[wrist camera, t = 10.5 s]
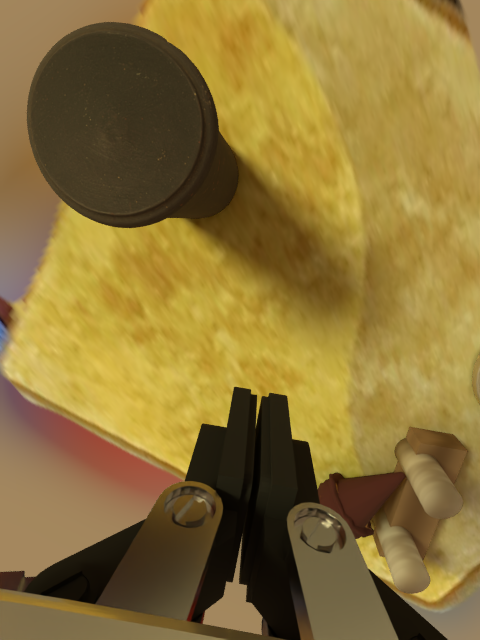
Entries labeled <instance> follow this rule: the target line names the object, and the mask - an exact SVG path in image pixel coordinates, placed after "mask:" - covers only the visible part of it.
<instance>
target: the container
mask: <svg viewBox="0 0 480 640" xmlns="http://www.w3.org/2000/svg"><path fill="white" fill-rule="evenodd" d="M27 126H28V134H29V139H30V144H31V147H32V151H33V154H34V157H35V160H36V162H37V164H38V166H39V168H40V170H41V172H42V174H43V176H44V178H45V179H46V181H47V182H48V184H49V185H50V186H51V188H52V189H53V190H54V191H55V193H56V194H57V195H58V196H59V197H60V198H61V199H62V200H63V201H64V202H65V203H66V204H67V205H69V206H70V207H71V208H72V209H74V210H75V211H77V212H78V213H80V214H81V215H83V216H85V217H87V218H89V219H91V220H93V221H96V222H98V223H101V224H104V225H108V226H113V227H119V228H135V227H142V226H147V225H151V224H154V223H157V222H160V221H162V220H164V219H166V218H191V219H199V218H205V217H209V216H212V215H215V214H217V213H218V212H220V211H221V210H223V209H224V208H225V207H226V206H227V205H228V204H229V203H230V201H231V200H232V198H233V196H234V194H235V191H236V188H237V184H238V167H237V163H236V160H235V157H234V154H233V152H232V150H231V148H230V147H229V145H228V144H227V142H226V141H225V139H224V138H223V136H222V135H221V133H220V132H219V126H218V117H217V112H216V108H215V104H214V101H213V98H212V95H211V93H210V90H209V88H208V86H207V84H206V82H205V80H204V78H203V77H202V75H201V73H200V72H199V70H198V69H197V67H196V66H195V65H194V64H193V63H192V62H191V60H190V59H189V58H188V57H187V56H186V55H185V54H184V53H183V52H182V51H181V50H180V49H178V48H177V47H175V46H174V45H172V44H171V43H169V42H167V40H166V39H165V38H163V37H162V36H160V35H158V34H156V33H154V32H152V31H150V30H148V29H145V28H142V27H139V26H136V25H131V24H126V23H116V22H104V23H97V24H92V25H88V26H85V27H83V28H80V29H77V30H76V31H73V32H71V33H70V34H68V35H66V36H65V37H63V38H62V39H61V40H60V41H58V42H57V43H56V44H55V45H54V46H53V47H52V48H51V50H50V51H49V52H48V53H47V54H46V56H45V57H44V58H43V60H42V61H41V63H40V65H39V66H38V68H37V71H36V73H35V75H34V78H33V81H32V84H31V87H30V92H29V97H28V105H27Z"/></svg>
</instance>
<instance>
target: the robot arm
mask: <svg viewBox="0 0 480 640" xmlns="http://www.w3.org/2000/svg"><path fill="white" fill-rule="evenodd" d="M472 387H473V391H474V395H475V397H476V399H477V401H478V403H479V404H480V354H479V356H478V358H477V360H476V363H475V365H474V369H473V374H472ZM256 407H257V395H253V394H251V389H245V388H239V387H234V391H233V396H232V402H231V407H230V413H229V418H228V424H227V428H226V427H220V426H214V425H209V424H202V426H201V429H200V432H199V435H198V439H197V442H196V445H195V449H194V452H193V455H192V459H191V462H190V465H189V469H188V472H187V475H186V479H185V481H184V482H179V483H176V484H173V485H171V486H170V487H168V488H167V489H165V490H164V491H163V492H162V494H161V495H160V496H159V498H158V499H157V501H156V503H155V504H154V506H153V508H152V510H151V512H150V513H149V515H148V516H147V518H146V519H145V520H143V521H141V522H139V523H137V524H135V525H132V526H130V527H129V528H126V529H124V530H122V531H120V532H118V533H116V534H114V535H112V536H110V537H108V538H106V539H104V540H102V541H100V542H98V543H96V544H94V545H92V546H90V547H88V548H86V549H84V550H82V551H80V552H78V553H76V554H74V555H71V556H69V557H68V558H65V559H63V560H61V561H59V562H57V563H55V564H53V565H52V566H50V567H48V568H47V569H45V570H44V571H42V572H41V573H40V574H38V575H37V576H36V577H25V571H10V572H9V571H8V572H0V640H447V638H445V637H444V636H443V635H442V634H441V633H440V632H439V631H438V630H437V629H435V628H434V627H433V626H432V625H431V624H430V623H429V622H428V621H426V620H425V619H424V618H423V617H422V616H421V615H420V614H419V613H418V612H416V611H415V610H414V609H413V608H412V607H411V606H410V605H409V604H407V603H406V602H405V601H404V600H403V599H402V598H401V597H400V596H399V595H397V594H396V593H395V592H394V591H393V590H392V589H391V588H390V587H388V586H387V585H386V584H385V583H384V582H383V581H382V580H381V579H379V578H378V577H377V576H376V575H375V574H374V573H373V572H372V571H371V570H369V569H368V568H367V565H366V563H365V561H364V558H363V556H362V554H361V551H360V549H359V547H358V544H357V542H356V540H355V537H354V535H353V533H352V531H351V529H350V527H349V525H348V524H347V522H346V521H345V520H344V519H343V518H342V517H341V516H340V515H339V514H338V513H336V512H335V511H333V510H332V509H331V508H328V507H326V506H324V505H321V504H320V501H319V496H318V490H317V485H316V480H315V474H314V469H313V463H312V458H311V453H310V447H309V444H308V442H305V441H300V440H294V439H292V435H291V426H290V417H289V409H288V400H287V396H286V395H280V394H274V393H269V396H268V397H265V396H262V399H261V404H260V409H259V414H258V419H257V424H256ZM255 428H256V429H255ZM242 533H243V535H242ZM241 538H242V549H241V563H240V576H239V577H240V578H239V584H244V585H247V595H246V602H250V603H252V604H253V605H254V606H255V607H256V609H257V610H258V611H259V613H260V614H261V615H262V617H263V618H262V629H261V630H262V635H259V634H253V633H248V632H243V631H237V630H232V629H227V628H221V627H216V626H210V625H205V624H203V620H204V615H205V610H206V609H208V608H209V607H210V606H211V605H213V604H214V603H216V602H217V601H218V600H219V599H221V598H222V597H223V595H224V590H225V585H226V581H227V582H233V578H234V573H235V568H236V563H237V558H238V553H239V548H240V542H241Z"/></svg>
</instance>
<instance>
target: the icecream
mask: <svg viewBox="0 0 480 640" xmlns="http://www.w3.org/2000/svg"><path fill="white" fill-rule="evenodd" d="M405 477H406V476H405V474H404V473H403V472H394V473H387V474H380V475H371V476H363V477H355V478H346V479H344V478H343V477H342V476H341V475H340V474H339V473H334V474H330V475H329V479H328V480H326V481H325V482H324V483H321V484H320V486H319V488H318V496H319V501H320V504H321V505H324V506H326V507H328V508H331V509H332V510H333V511H335V512H336V513H338V514H339V515H340V516H341V517H342V518H343V519H344V520H345V521H346V522H347V524H348V525H349V527H350V529H351V531H352V533H353V535H354V537H355V539H358V538H360V537H361V536H362V537H366V536H370V535H373V534H374V530H373V529H372V528H371V523H370V520H371V519H372V518H373V516H374V515H375V514H376V513H377V512H378V510H379V509H380V508H381V507H382V505H383V504H384V503H385V502H386V501H387V499H388V498H389V497H390V496H391V494H392V493H393V492H394V491H395V490H396V488H397V487H398V486H399V485H400V483H401V482H402V481H403V480H404V478H405Z"/></svg>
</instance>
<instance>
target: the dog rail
mask: <svg viewBox="0 0 480 640" xmlns="http://www.w3.org/2000/svg"><path fill="white" fill-rule="evenodd" d="M467 452H468V451H467V450H466V449H465V448H464V446H463V445H462V444H461V443H460V442H459V441H458V439H457V438H456V437H455V436H454V435H453V434H448V433H442V432H436V431H430V430H425V429H419V428H413V427H409V430H408V433H407V436H406V438H405V439H402V440H401V441H400V442H399V443H398V444H397V445H396V447H395V456H396V458H397V459H398V462H397V465H396V468H395V471H394V472H403V473H404V474H405V476H406V477H405V478H404V480H403V481H402V482H401V483H400V485H399V486H398V487H397V488H396V490H395V491H394V492H393V493H392V494H391V496H390V497H389V498H388V499H387V501H386V502H385V503H384V504H383V506H382V507H381V508H380V509H379V510H378V512H377V513H376V514H375V515H374V516H373V518H372V520H373V523H374V526H375V529H374V534H373V537H374V540H375V543H376V546H377V549H378V552H379V555H380V556H382V557H385V558H386V561H387V564H388V567H389V569H390V572H391V575H392V578H393V581H394V584H395V586H396V587H397V589H399V590H400V591H402V592H404V593H411V594H412V593H418V592H421V591H423V590H425V589H426V588H427V587H428V586H429V584H430V576H429V574H428V572H427V570H426V567H425V565H424V563H423V559H424V557H425V555H426V552H427V550H428V547H429V545H430V542H431V540H432V537H433V535H434V532H435V530H436V528H437V525H438V523H439V520H440V519H447V518H450V517H453V516H454V515H456V514H457V513H458V512H459V511H460V510H461V508H462V506H463V499H462V497H461V495H460V493H459V492H458V491H457V489H456V488H455V486H454V483H455V481H456V479H457V476H458V474H459V471H460V469H461V466H462V464H463V461H464V459H465V456H466V454H467Z"/></svg>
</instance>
